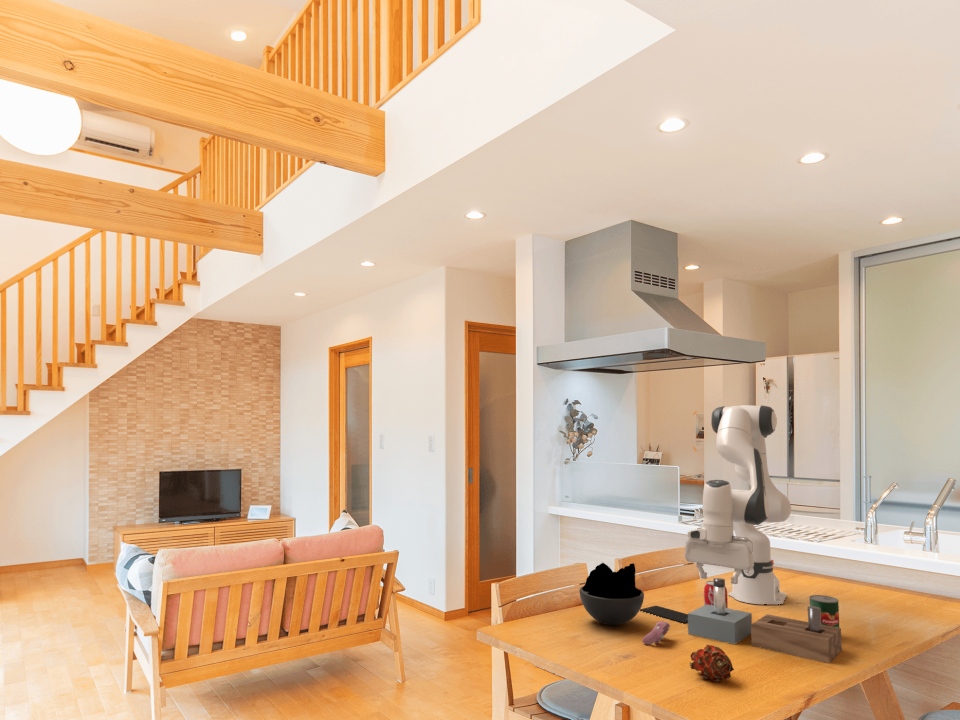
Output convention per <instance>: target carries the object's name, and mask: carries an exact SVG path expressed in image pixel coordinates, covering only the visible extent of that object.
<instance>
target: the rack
mask: <svg viewBox="0 0 960 720" xmlns="http://www.w3.org/2000/svg"><path fill="white" fill-rule="evenodd" d="M750 636H751V647H754V646H756V647H755V648H758V647H761V648H760V649H763V648H765V649H764V650H767V649H770V650H769V651H772V650H773V651H772V652H776V651H777V652H776V653H781V652H782V653H781V654H786V655H790V656H794V657H799V658H804V659H808V660H813V661H817V662H822V663H826V664H829V663H831V662H832V661H833V660H834V659H835V658H836V657H837V656H838V654H840V653H841V652H842V650H843V648H842V647H843V646H842V645H843V644H842V628H841V627H839V628H837V627H832V626H827V625H821V633H816V632H811V631H808V621H806V620H805V621H804V620H800V619H794V618H788V617H784V616H778V615H774V614H766V615H764V616H762V617H760V618H758V619H757V620H756V621H754V622H752V624H751V635H750Z"/></svg>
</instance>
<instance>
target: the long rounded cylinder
mask: <svg viewBox="0 0 960 720" xmlns="http://www.w3.org/2000/svg"><path fill="white" fill-rule="evenodd" d="M712 581H713V584H714V614H716V615H721V616H725V587H726V579H725V578H721V577H714V578H713V579H712Z"/></svg>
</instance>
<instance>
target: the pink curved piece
mask: <svg viewBox="0 0 960 720" xmlns="http://www.w3.org/2000/svg"><path fill="white" fill-rule="evenodd" d="M670 627H671V624H670V623H669V622H667V621H665V620H662V621H658V622H656V624H655V626H654V627H653V628H652V630H651V631H650V632H649V633H647V634H646V635H644V636H643V638H642V640H641V641H642V643H643V644H644V645H645V644H647V646H648V645H652V644H654V643H655V644H656V645H658V644H659V643H660V642H661V641H662V640H665V635H666V634H667V633H668V631H669V630H670Z"/></svg>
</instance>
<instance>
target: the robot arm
mask: <svg viewBox="0 0 960 720" xmlns="http://www.w3.org/2000/svg"><path fill="white" fill-rule="evenodd" d="M710 425H711V428H712V431H713V432H714V433H715V434H716V440H715V441H716V442H715V444H716V445H715V446H716V450H717V452H718V454H719V455H720V456H721V457H722V458H723V459H724V460H726V461H727V462H730V463H731V464H734V472H735V474H736V476H737V477H738V478H740V479H741V480H743V481H745V482H746V483H748V484H749V486H750V489H736V488H735V489H732V486H731V483H730V482H729V481H728V480H723V479H711V480H708V481H706V482H705V483H704V486H703V492H702V511H703V512H702V513H703V520H702V527H698V528H695V529H691V530H689V531H687V532H686V533H687V538H688V539H687V540H686V541H685V547H684V559H685V560H686V561H687V562H689V563H695V564H696V568H697V570H698V572H699V573H700V574H699V577H700V579H703V580H706V579H707V578H708V572H707V571H705V569H704V568H703V567H704V565H709V566H716V567H721V568H722V567H723V568H729V569H733V570H734V571H733V574H732V576H730V583H731V584H732V591H729V592H728V596H729V595H730V597H732V598H734V600H737V601H739V602H742V603H747V604H751V605H753V604H754V605H764V604H767V605H778V604H779V606H781V605H780V604H782V605H783V604H784V602H785V601H786V599H787V593H786V592H784V591H783V592H782V591H781V589H780V588H781V587H780V579H778V577H777V576H776V574H775V573H774V565H775V562H774V560H773V559H772V558H771V541H770V538H769V537H768V536H767V535H766V534H765V533H763V532H762V531H760V530H758V529H757V528H756V527H755V526H759V525H761V524H763V523H771V524H772V523H782V522H783V523H784V522H785V521H787V520H788V518H790V516H791V512H792V504H791V502H790V500H789V498H788V496H786V495H785V494H783V493H782V492H781V491H780V490H779V489H778V488H777V487H776V485H775V484H774V483H773V481H772V479H771V477H770V474H769V469H768V468H769V467H768V460H767V459H768V458H767V457H768V456H767V445H766V438H767V437H768V436H770V435H772V434H773V433H774V432H775V430H776V427H777V425H778V418H777V414H776V413H775V410H774V409H773V408H772V407H770V406H768V405H753V404H752V405H751V404H742V405H730V406H719V407H716V408H714V410H713V411H712V413H711V416H710ZM785 598H786V599H785ZM784 600H785V601H784Z"/></svg>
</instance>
